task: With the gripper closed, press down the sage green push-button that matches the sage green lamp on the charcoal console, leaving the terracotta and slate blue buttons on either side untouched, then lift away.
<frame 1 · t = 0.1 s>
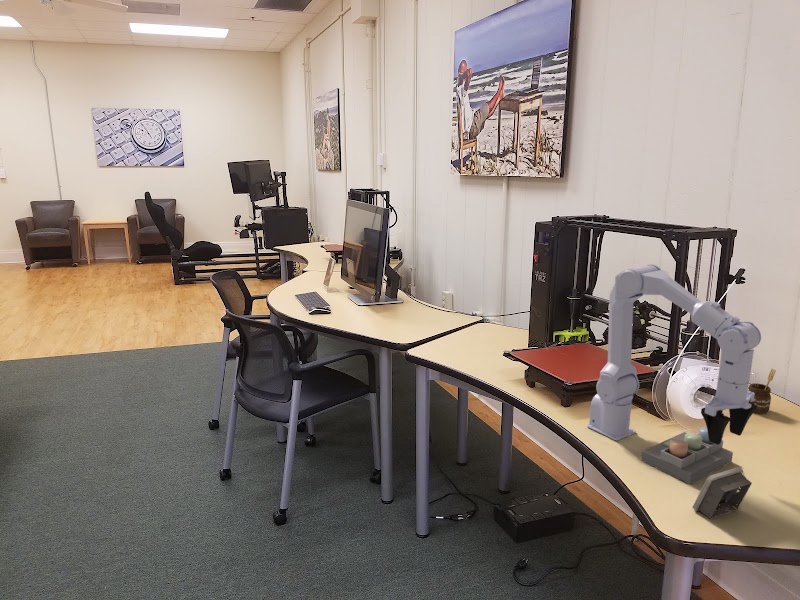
hand: (725, 437, 127), 10 cm above the table, tool pointing down, fingers open, 7 cm apart
slate button: (706, 435, 138), point 6 cm above the table, slide at 0.0 cm
console: (686, 461, 137), on the table
sage button: (693, 441, 135), point 6 cm above the table, slide at 0.0 cm
electrical switch: (719, 512, 118), on the table
utensil holder: (756, 410, 163), on the table
terracotta button: (678, 448, 132), point 6 cm above the table, slide at 0.0 cm
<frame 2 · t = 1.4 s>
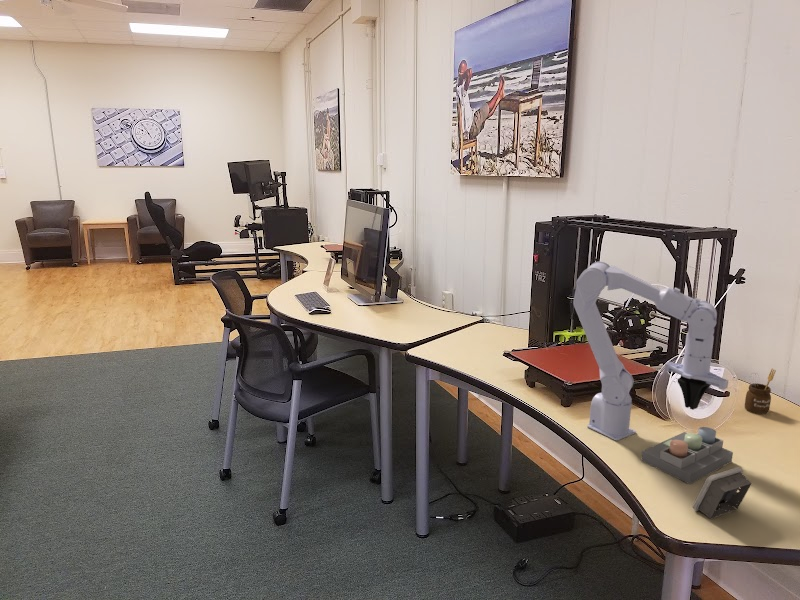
hand: (691, 407, 141), 10 cm above the table, tool pointing down, fingers closed
nothing on the table moved.
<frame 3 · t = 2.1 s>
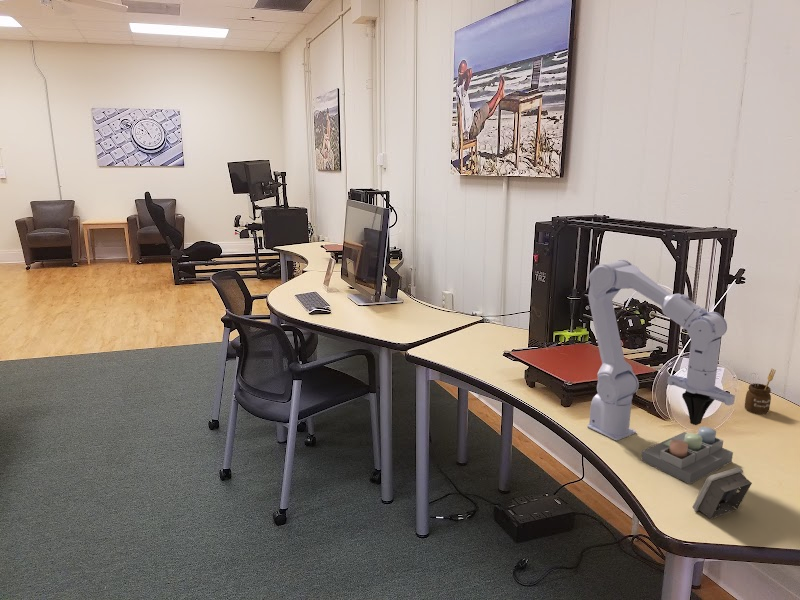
hand: (695, 423, 134), 10 cm above the table, tool pointing down, fingers closed
nothing on the table moved.
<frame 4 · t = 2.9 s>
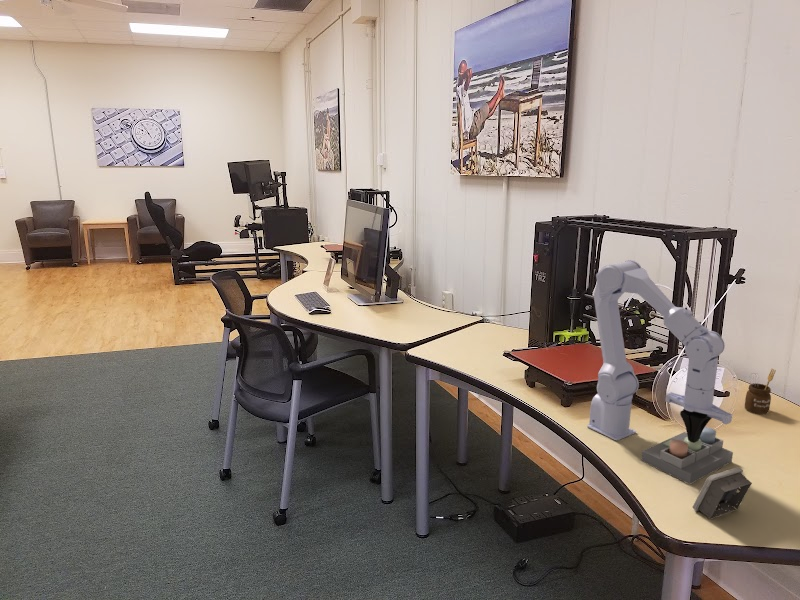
hand: (693, 440, 135), 6 cm above the table, tool pointing down, fingers closed, pressing on sage button
sage button: (692, 445, 135), point 5 cm above the table, slide at 0.9 cm, touching gripper
everything else where it was.
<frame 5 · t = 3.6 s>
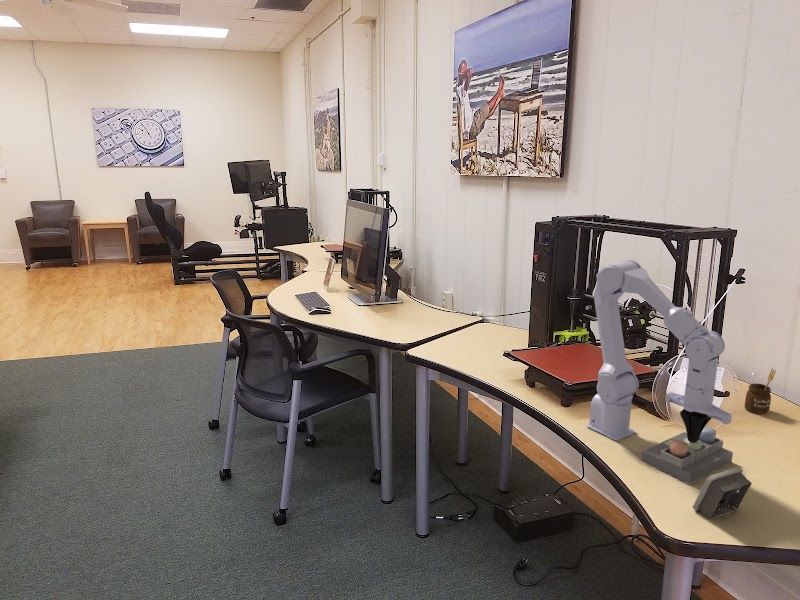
hand: (692, 440, 135), 6 cm above the table, tool pointing down, fingers closed
sage button: (692, 446, 135), point 4 cm above the table, slide at 1.2 cm
everything else where it was.
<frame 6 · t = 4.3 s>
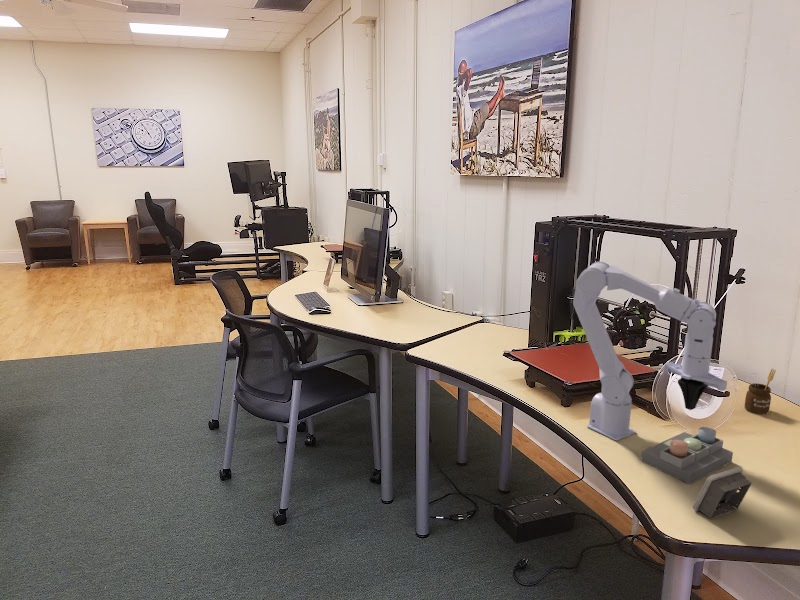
hand: (690, 408, 141), 10 cm above the table, tool pointing down, fingers closed
nothing on the table moved.
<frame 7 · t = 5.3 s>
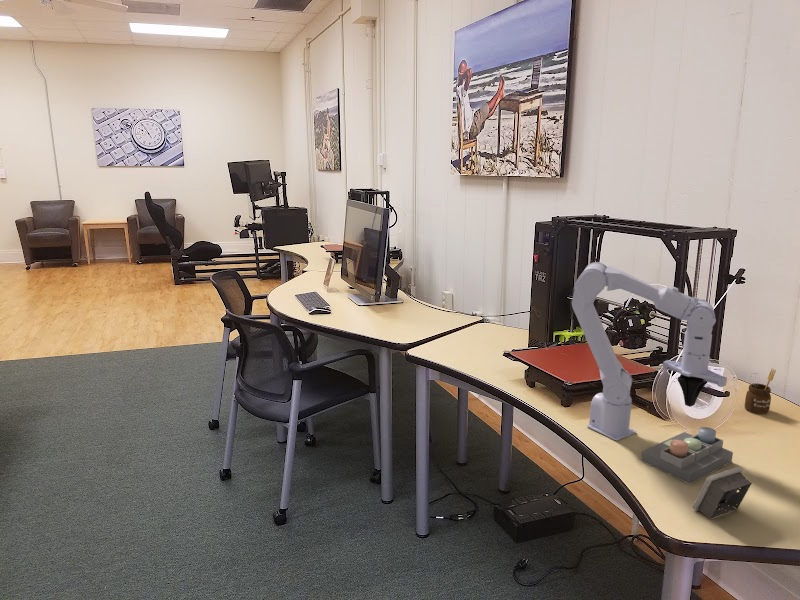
hand: (689, 404, 142), 10 cm above the table, tool pointing down, fingers closed
nothing on the table moved.
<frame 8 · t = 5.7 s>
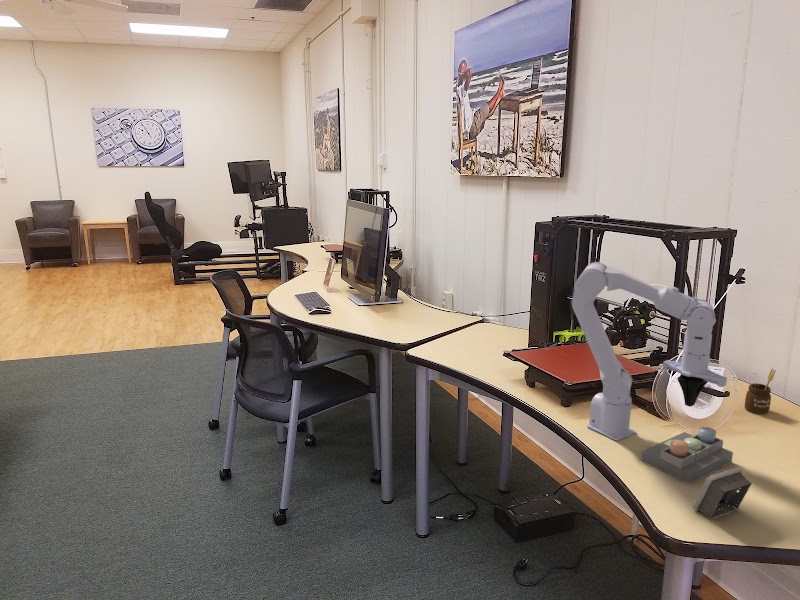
hand: (689, 404, 142), 10 cm above the table, tool pointing down, fingers closed
nothing on the table moved.
at the end: sage button slide at 1.2 cm; terracotta button slide at 0.0 cm; slate button slide at 0.0 cm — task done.
